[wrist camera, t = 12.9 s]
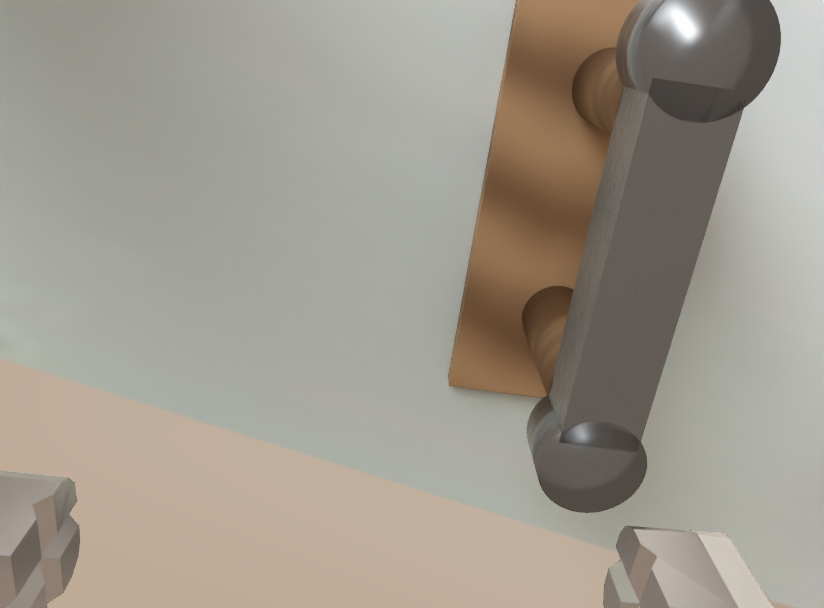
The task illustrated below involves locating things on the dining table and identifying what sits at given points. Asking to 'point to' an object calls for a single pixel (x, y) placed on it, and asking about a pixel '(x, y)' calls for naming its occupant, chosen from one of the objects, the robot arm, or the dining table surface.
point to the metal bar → (646, 236)
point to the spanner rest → (538, 192)
